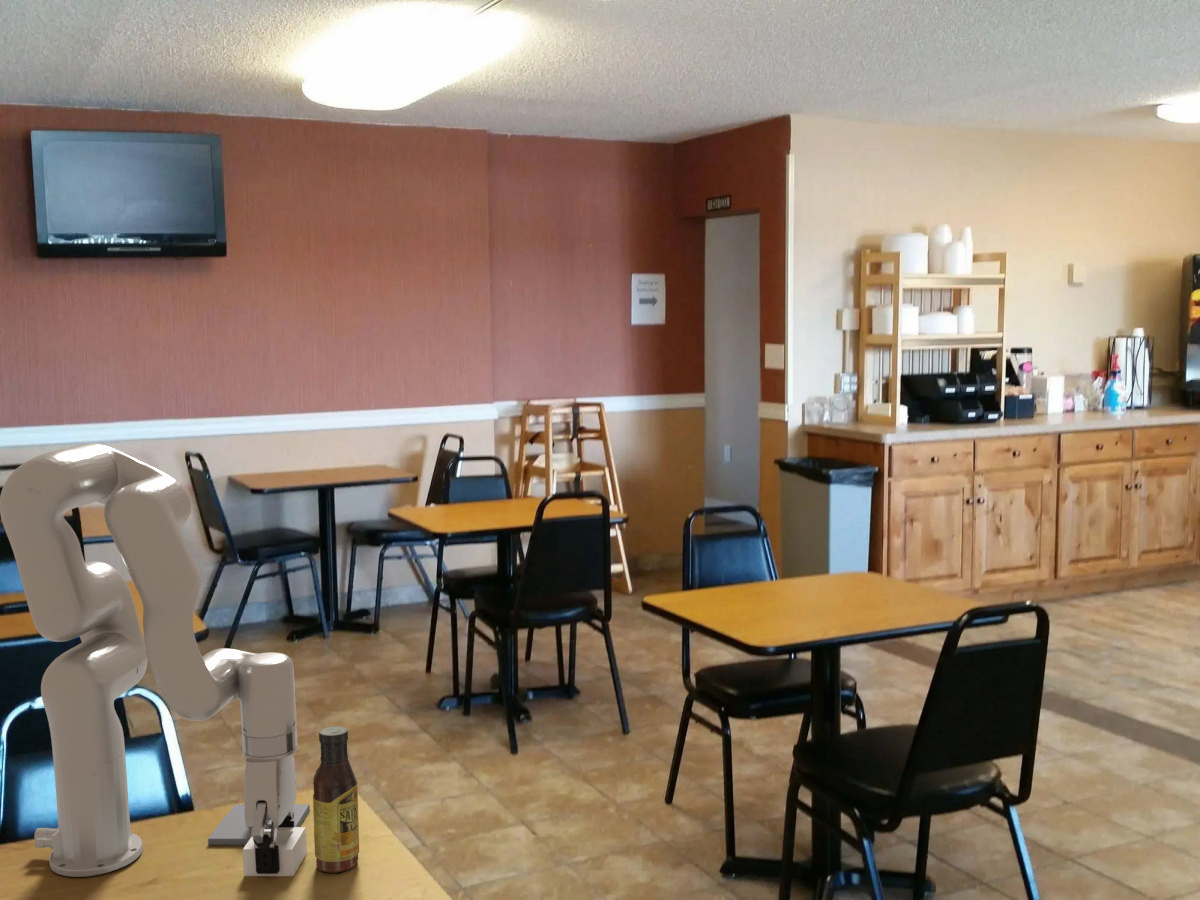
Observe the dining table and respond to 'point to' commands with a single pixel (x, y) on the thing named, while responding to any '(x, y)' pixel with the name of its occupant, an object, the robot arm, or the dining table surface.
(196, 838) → the dining table surface
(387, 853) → the dining table surface
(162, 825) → the dining table surface
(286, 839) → the white block
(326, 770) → the sauce bottle
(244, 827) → the post base
